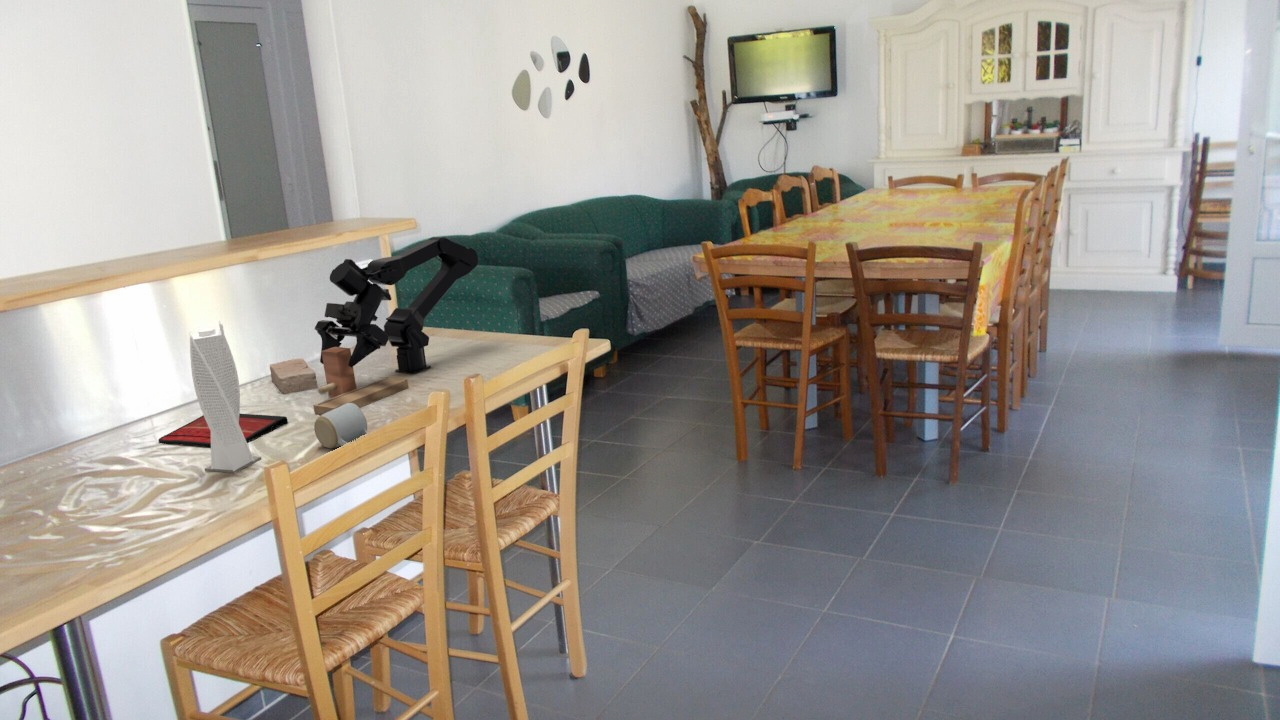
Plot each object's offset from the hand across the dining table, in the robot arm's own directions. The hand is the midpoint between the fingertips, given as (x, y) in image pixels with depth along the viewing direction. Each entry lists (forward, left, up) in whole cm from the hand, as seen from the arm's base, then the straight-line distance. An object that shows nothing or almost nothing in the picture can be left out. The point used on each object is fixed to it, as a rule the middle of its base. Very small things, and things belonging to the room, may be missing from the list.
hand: (335, 364), depth 213 cm
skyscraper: (+39, +15, -8) cm, 43 cm away
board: (0, +8, -8) cm, 11 cm away
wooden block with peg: (+1, 0, -8) cm, 8 cm away
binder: (+27, -5, -8) cm, 29 cm away
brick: (-4, -21, -8) cm, 22 cm away
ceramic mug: (+23, +27, -8) cm, 36 cm away
